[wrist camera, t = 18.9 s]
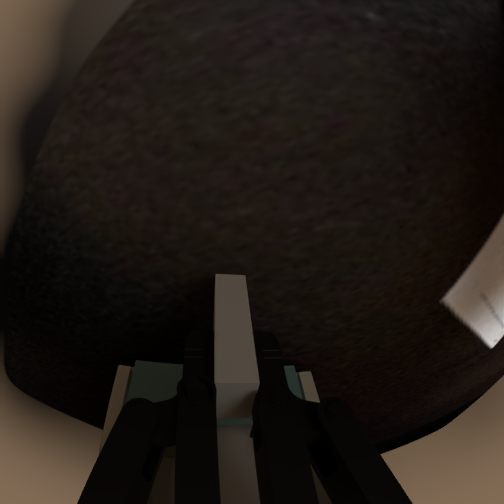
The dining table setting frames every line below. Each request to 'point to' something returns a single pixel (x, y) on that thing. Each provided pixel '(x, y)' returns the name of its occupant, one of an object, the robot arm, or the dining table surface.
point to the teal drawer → (164, 387)
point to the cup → (233, 466)
